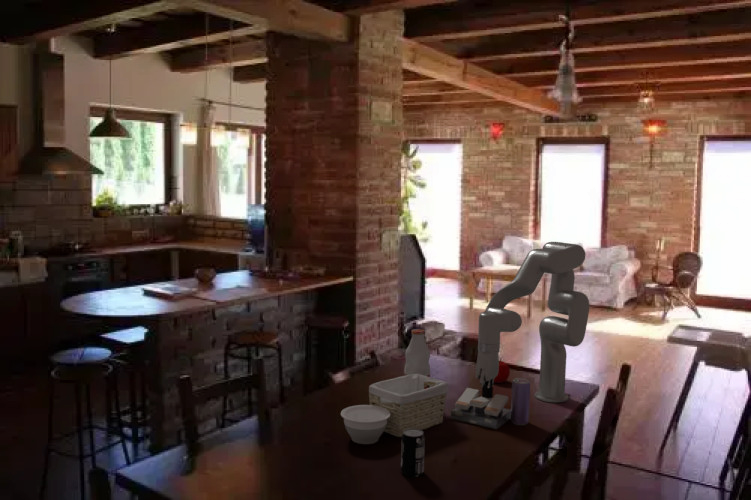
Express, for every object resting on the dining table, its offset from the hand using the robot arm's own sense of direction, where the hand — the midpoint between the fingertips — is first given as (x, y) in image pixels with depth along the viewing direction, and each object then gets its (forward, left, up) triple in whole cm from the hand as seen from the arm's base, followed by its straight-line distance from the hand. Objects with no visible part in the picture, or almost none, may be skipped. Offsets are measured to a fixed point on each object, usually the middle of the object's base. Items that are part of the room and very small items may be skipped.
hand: (487, 397), depth 243 cm
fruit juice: (+6, -25, -7) cm, 27 cm away
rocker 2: (+5, 0, 0) cm, 5 cm away
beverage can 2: (+1, +13, -7) cm, 14 cm away
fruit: (-39, -12, -7) cm, 42 cm away
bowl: (+44, -22, -7) cm, 50 cm away
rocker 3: (+5, +6, 0) cm, 7 cm away
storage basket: (+25, -18, -7) cm, 32 cm away
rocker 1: (+5, -5, 0) cm, 7 cm away
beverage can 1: (+57, +3, -7) cm, 57 cm away
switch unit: (+5, 0, -6) cm, 8 cm away
